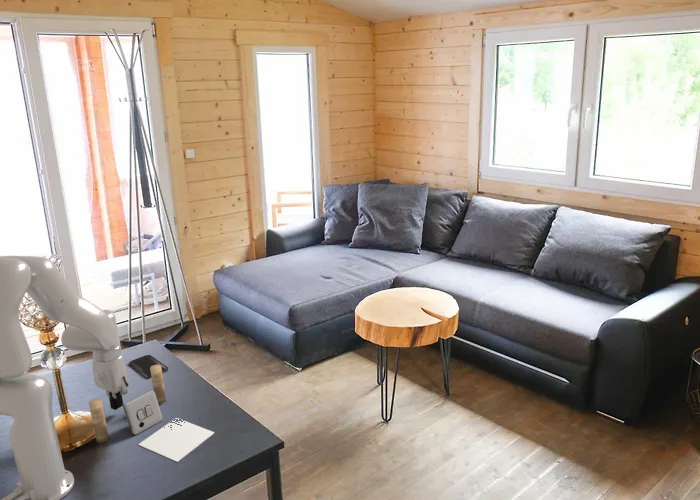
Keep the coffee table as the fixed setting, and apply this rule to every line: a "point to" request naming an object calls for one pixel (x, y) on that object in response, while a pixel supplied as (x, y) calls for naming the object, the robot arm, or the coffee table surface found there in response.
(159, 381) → the far oak dowel
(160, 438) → the mat
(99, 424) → the near oak dowel
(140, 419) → the electrical switch
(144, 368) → the phone
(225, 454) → the coffee table surface
